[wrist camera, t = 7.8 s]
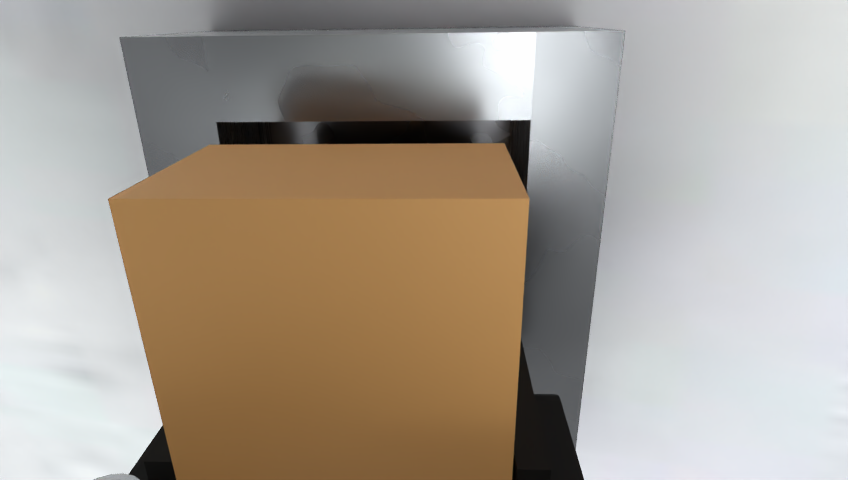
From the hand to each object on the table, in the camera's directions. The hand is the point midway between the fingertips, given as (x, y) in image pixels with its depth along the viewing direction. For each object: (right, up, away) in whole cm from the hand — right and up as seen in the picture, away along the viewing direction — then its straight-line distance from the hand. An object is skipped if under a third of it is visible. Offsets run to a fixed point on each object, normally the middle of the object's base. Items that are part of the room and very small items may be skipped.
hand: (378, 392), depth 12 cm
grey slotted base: (0, +2, +5) cm, 6 cm away
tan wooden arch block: (0, +1, +3) cm, 3 cm away
